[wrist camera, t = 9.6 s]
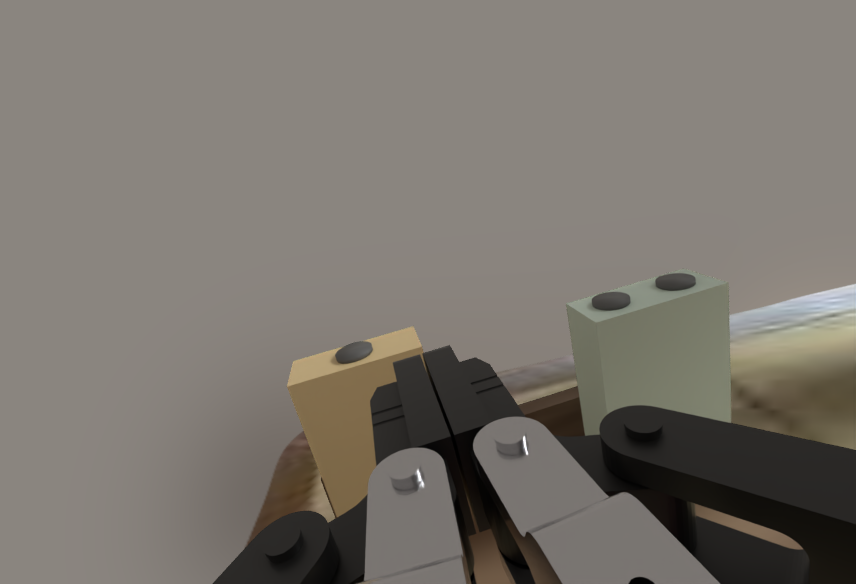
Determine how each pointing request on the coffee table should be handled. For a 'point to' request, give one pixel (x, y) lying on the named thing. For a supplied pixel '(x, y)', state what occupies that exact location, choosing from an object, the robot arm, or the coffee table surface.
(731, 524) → the tile rack
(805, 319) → the coffee table surface
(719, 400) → the tile two
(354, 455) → the tile one
